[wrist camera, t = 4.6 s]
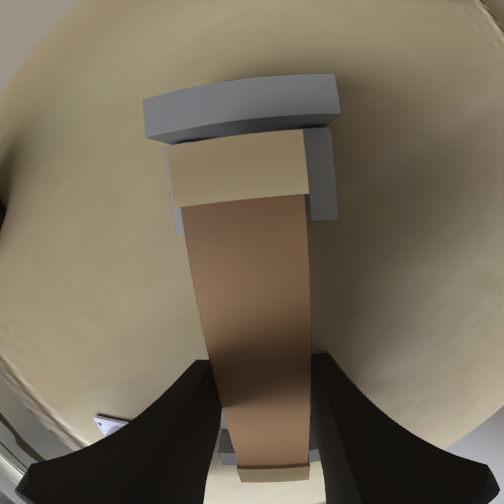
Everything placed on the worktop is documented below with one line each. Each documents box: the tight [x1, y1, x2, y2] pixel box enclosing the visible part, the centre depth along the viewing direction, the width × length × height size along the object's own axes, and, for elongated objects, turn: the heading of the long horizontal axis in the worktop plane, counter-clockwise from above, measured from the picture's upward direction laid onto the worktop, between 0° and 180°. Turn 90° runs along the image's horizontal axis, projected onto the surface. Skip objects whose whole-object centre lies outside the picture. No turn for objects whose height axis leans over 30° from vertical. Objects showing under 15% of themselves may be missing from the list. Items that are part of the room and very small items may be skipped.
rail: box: [167, 129, 311, 482], centre depth 11 cm, size 15×3×5 cm, turn 6°
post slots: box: [143, 74, 341, 465], centre depth 14 cm, size 21×7×5 cm, turn 6°
